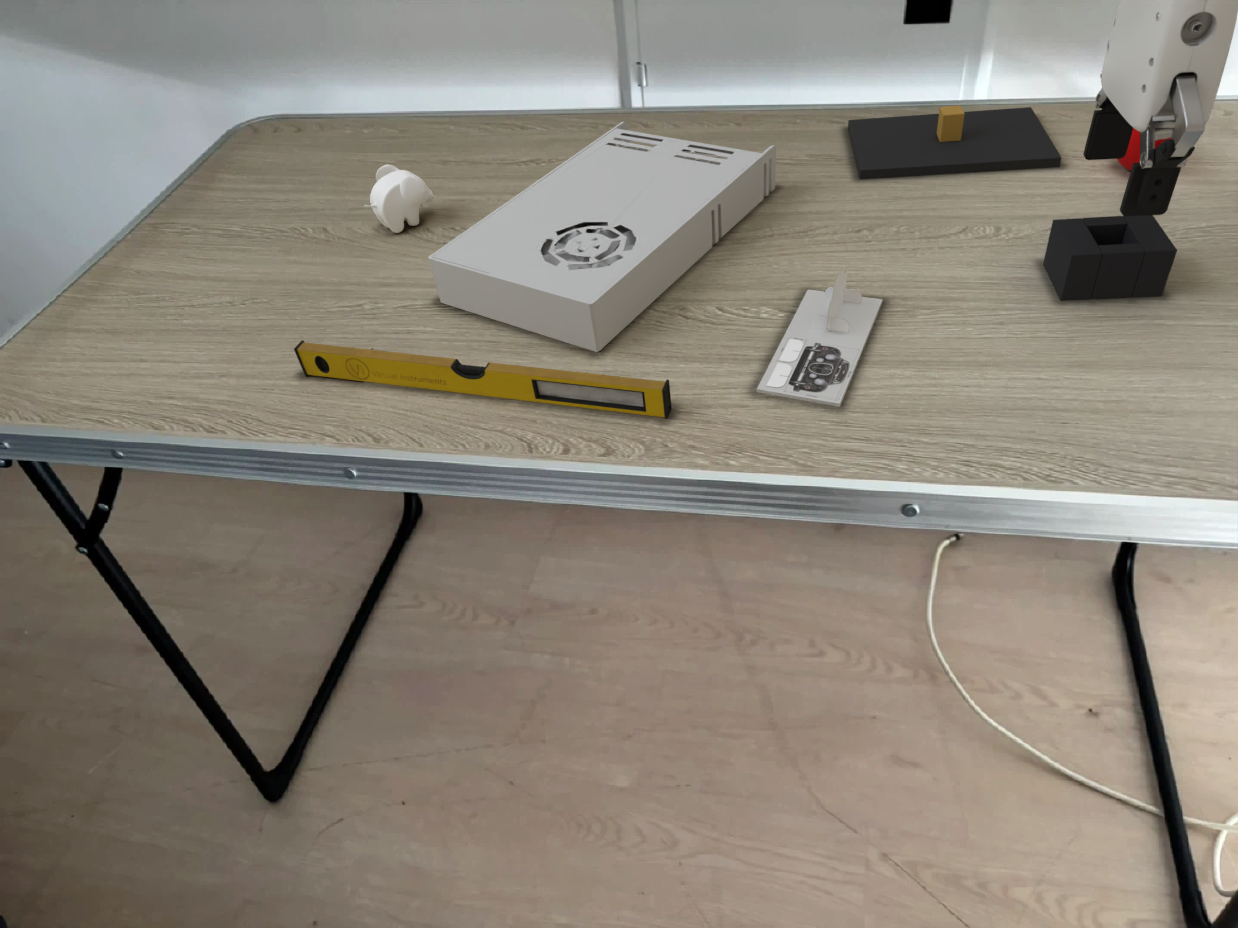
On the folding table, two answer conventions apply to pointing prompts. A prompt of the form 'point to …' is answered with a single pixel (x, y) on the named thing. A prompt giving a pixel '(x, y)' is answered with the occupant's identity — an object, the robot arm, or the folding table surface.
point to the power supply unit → (601, 235)
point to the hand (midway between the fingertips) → (1121, 184)
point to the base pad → (951, 143)
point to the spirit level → (488, 379)
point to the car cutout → (822, 345)
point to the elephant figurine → (398, 197)
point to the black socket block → (1108, 257)
